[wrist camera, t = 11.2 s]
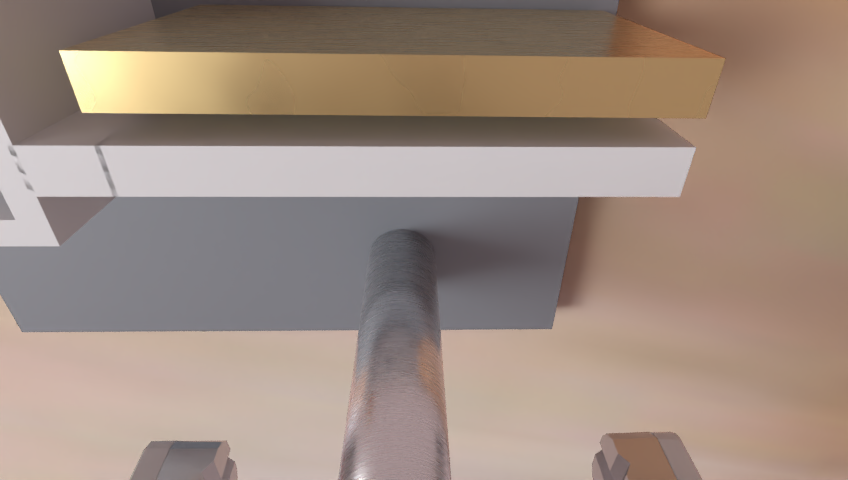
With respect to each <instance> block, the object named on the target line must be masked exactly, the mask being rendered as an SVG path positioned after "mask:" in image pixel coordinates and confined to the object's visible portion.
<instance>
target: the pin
mask: <svg viewBox="0 0 848 480" xmlns="http://www.w3.org/2000/svg"><path fill="white" fill-rule="evenodd" d="M338 480H451V471H450V457H449V442H448V428H447V414H446V400H445V386H444V372H443V358H442V344H441V330H440V316H439V302H438V288H437V274H436V260H435V251H434V248H433V246H432V244H431V243H430V242H429V240H428V239H427V238H425V237H424V236H423V235H421V234H419V233H417V232H415V231H411V230H404V229H400V230H392V231H389V232H387V233H384V234H383V235H381V236H380V237H378V238H377V239H376V240H375V241H374V243H373V244H372V246H371V248H370V252H369V259H368V266H367V273H366V281H365V288H364V295H363V303H362V310H361V317H360V325H359V332H358V339H357V347H356V354H355V361H354V369H353V376H352V383H351V391H350V398H349V405H348V413H347V420H346V427H345V435H344V442H343V450H342V457H341V464H340V472H339V479H338Z"/></svg>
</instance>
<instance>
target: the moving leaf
mask: <svg viewBox="0 0 848 480" xmlns="http://www.w3.org/2000/svg"><path fill="white" fill-rule="evenodd" d="M59 52H60V55H61V58H62V60H63V63H64V66H65V68H66V71H67V74H68V77H69V79H70V82H71V85H72V87H73V90H74V93H75V96H76V98H77V101H78V104H79V107H80V109H81V112H82V113H145V114H257V115H370V116H482V117H595V118H706V116H707V113H708V110H709V107H710V104H711V101H712V98H713V95H714V92H715V89H716V86H717V83H718V80H719V77H720V74H721V71H722V68H723V65H724V62H725V59H726V58H723V57H721V56H718V55H716V54H713V53H710V52H708V51H705V50H703V49H700V48H698V47H695V46H693V45H690V44H687V43H685V42H682V41H680V40H677V39H675V38H672V37H670V36H667V35H664V34H662V33H659V32H657V31H654V30H652V29H649V28H647V27H644V26H642V25H639V24H636V23H634V22H631V21H629V20H626V19H624V18H621V17H619V16H616V15H613V14H611V13H608V12H606V11H603V10H539V9H471V8H403V7H334V6H266V5H197V6H194V7H191V8H188V9H185V10H182V11H179V12H176V13H173V14H170V15H166V16H163V17H160V18H157V19H154V20H151V21H148V22H145V23H142V24H139V25H136V26H133V27H130V28H126V29H123V30H120V31H117V32H114V33H111V34H108V35H105V36H102V37H99V38H96V39H93V40H89V41H86V42H83V43H80V44H77V45H74V46H71V47H68V48H65V49H62V50H59Z"/></svg>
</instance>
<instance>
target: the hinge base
mask: <svg viewBox="0 0 848 480" xmlns="http://www.w3.org/2000/svg"><path fill="white" fill-rule="evenodd" d="M618 3H619V0H0V295H1V296H2V298H3V300H4V302H5V303H6V305H7V307H8V309H9V310H10V312H11V314H12V315H13V317H14V319H15V321H16V322H17V324H18V326H19V327H20V329H21V331H22V332H124V331H293V330H359V325H360V317H361V310H362V303H363V295H364V288H365V281H366V273H367V266H368V259H369V252H370V248H371V246H372V244H373V243H374V241H375V240H376V239H377V238H378V237H380V236H381V235H383V234H384V233H387V232H389V231H392V230H400V229H404V230H411V231H415V232H417V233H419V234H421V235H423V236H424V237H425V238H427V239H428V240H429V242H430V243H431V244H432V246H433V248H434V251H435V260H436V274H437V288H438V302H439V316H440V330H463V329H552V326H553V321H554V317H555V312H556V307H557V302H558V297H559V292H560V287H561V282H562V277H563V272H564V268H565V263H566V258H567V253H568V248H569V243H570V238H571V233H572V228H573V223H574V219H575V214H576V209H577V204H578V199H579V197H680V195H681V192H682V189H683V186H684V183H685V180H686V177H687V174H688V171H689V168H690V165H691V162H692V159H693V156H694V153H695V150H696V147H695V146H694V145H692V144H691V143H689V142H688V141H687V140H685V139H684V138H683V137H681V136H680V135H679V134H677V133H676V132H675V131H673V130H672V129H671V128H669V127H668V126H667V125H665V124H664V123H663V122H661V121H660V120H659V119H657V118H595V117H482V116H370V115H257V114H145V113H82V112H81V109H80V107H79V104H78V101H77V98H76V96H75V93H74V90H73V87H72V85H71V82H70V79H69V77H68V74H67V71H66V68H65V66H64V63H63V60H62V58H61V55H60V52H59V50H62V49H65V48H68V47H71V46H74V45H77V44H80V43H83V42H86V41H89V40H93V39H96V38H99V37H102V36H105V35H108V34H111V33H114V32H117V31H120V30H123V29H126V28H130V27H133V26H136V25H139V24H142V23H145V22H148V21H151V20H154V19H157V18H160V17H163V16H166V15H170V14H173V13H176V12H179V11H182V10H185V9H188V8H191V7H194V6H197V5H266V6H334V7H403V8H471V9H539V10H603V11H606V12H608V13H611V14H613V15H616V13H617V8H618Z"/></svg>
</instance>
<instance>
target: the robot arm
mask: <svg viewBox="0 0 848 480" xmlns="http://www.w3.org/2000/svg"><path fill="white" fill-rule="evenodd" d="M600 445H601V448H602V450H601V451H600V452H598V453H597V454H595V456H594V460H593V463H592V477H593V480H702V478H701V476H700V474H699V472H698V470H697V469H696V467H695V465H694V463H693V461H692V459H691V457H690V455H689V454H688V452H687V450H686V448H685V446H684V444H683V442H682V440H681V439H680V437H679V436H678V435H677V434H676V433H673V432H635V433H609V434H605V435H603V436H602V438H601V441H600ZM229 452H230V447H229V445H228V442H227V441H151V442H150V443H149V445H148V446H147V447H146V448H145V449H144V451H143V453H142V455H141V457H140V459H139V461H138V463H137V465H136V467H135V469H134V471H133V473H132V475H131V477H130V480H237V479H238V477H237V467H236V464H235V461H233V460H232V459H230V458H228V456H229Z"/></svg>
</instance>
